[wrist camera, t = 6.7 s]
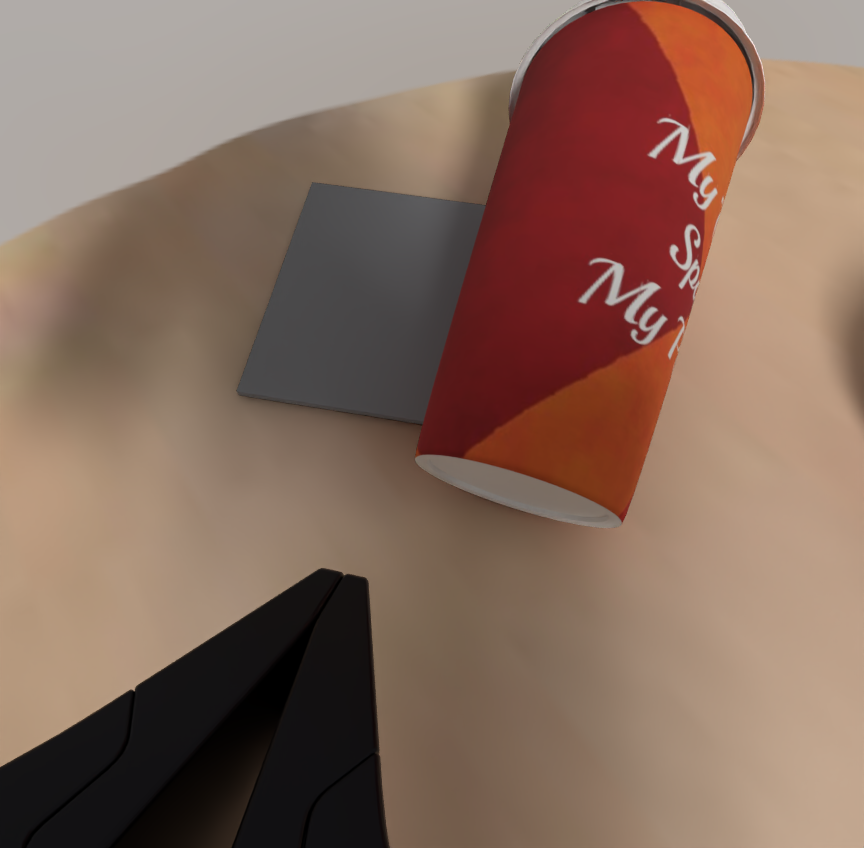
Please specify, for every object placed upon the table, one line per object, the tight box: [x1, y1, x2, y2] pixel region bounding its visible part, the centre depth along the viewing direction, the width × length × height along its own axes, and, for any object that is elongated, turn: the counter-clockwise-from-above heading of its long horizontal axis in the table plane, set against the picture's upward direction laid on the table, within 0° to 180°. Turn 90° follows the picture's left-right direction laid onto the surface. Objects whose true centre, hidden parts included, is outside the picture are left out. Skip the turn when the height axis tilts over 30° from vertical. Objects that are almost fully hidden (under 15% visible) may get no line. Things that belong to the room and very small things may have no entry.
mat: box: [237, 182, 486, 424], centre depth 19 cm, size 13×10×1 cm
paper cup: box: [415, 0, 765, 528], centre depth 15 cm, size 8×8×14 cm
